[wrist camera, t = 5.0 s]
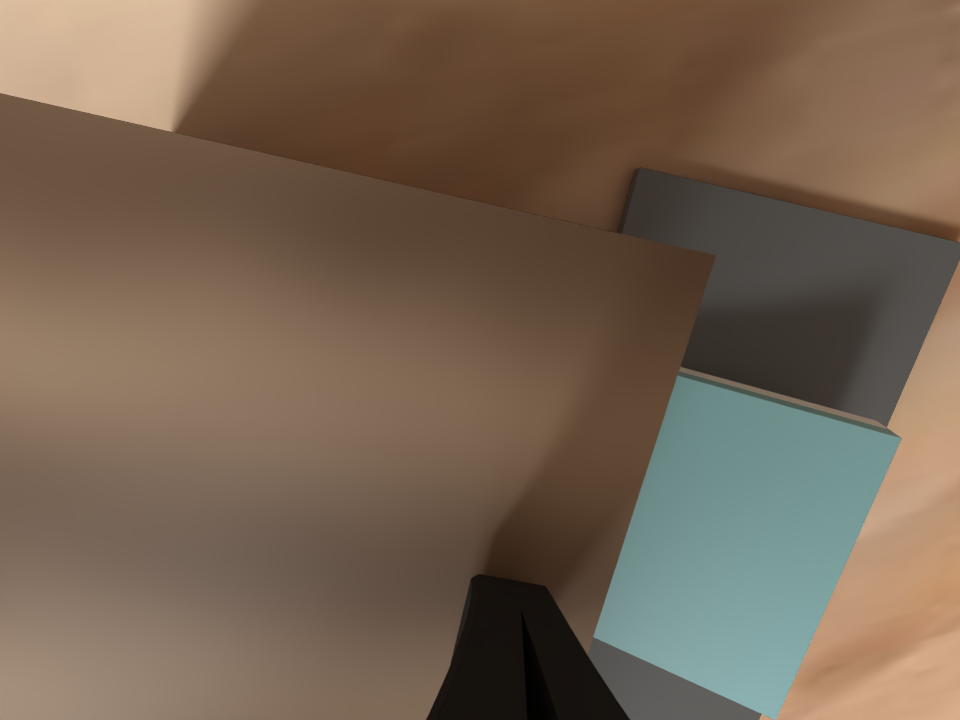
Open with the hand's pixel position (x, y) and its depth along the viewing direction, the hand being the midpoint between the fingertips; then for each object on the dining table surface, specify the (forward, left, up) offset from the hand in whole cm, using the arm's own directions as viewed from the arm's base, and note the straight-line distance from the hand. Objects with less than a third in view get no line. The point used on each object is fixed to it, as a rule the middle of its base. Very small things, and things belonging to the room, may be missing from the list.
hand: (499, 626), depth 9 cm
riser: (0, +4, -6) cm, 8 cm away
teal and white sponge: (0, -6, -4) cm, 7 cm away
